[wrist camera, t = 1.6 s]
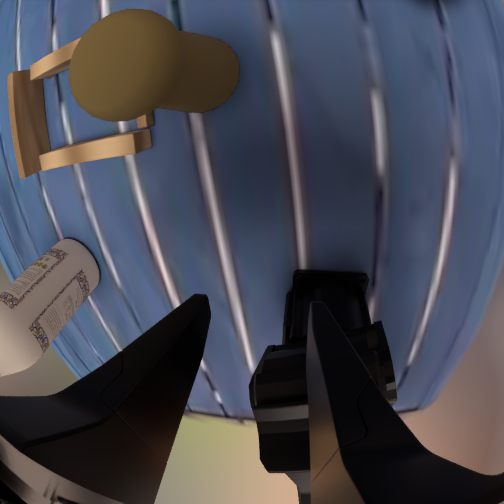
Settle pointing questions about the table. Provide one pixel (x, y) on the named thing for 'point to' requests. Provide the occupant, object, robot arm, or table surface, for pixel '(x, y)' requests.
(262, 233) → the table surface
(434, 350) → the table surface
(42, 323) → the bath foam
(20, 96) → the cradle
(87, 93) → the cork
